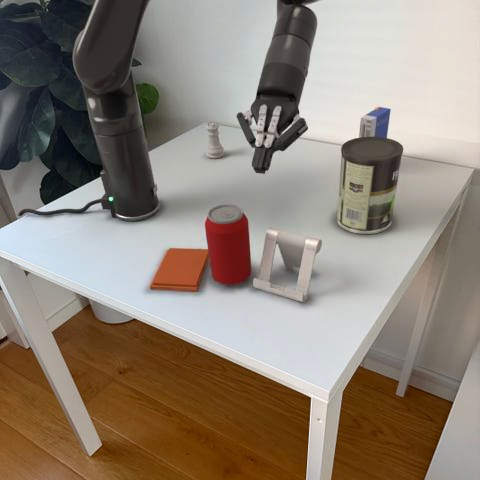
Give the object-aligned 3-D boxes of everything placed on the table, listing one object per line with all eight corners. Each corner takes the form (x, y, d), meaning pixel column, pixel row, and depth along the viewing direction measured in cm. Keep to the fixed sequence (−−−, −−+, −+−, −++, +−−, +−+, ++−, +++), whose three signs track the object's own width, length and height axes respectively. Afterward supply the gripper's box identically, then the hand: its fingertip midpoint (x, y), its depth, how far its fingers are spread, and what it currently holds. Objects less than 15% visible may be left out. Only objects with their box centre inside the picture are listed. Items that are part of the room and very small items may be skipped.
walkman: (373, 158, 111) (379, 104, 103) (383, 161, 110) (391, 107, 102) (354, 171, 107) (359, 116, 99) (365, 174, 106) (371, 118, 98)
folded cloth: (150, 289, 80) (149, 283, 79) (168, 252, 88) (167, 246, 87) (197, 291, 78) (196, 285, 77) (211, 253, 86) (210, 248, 85)
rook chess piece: (228, 153, 119) (225, 120, 114) (218, 160, 117) (214, 127, 111) (213, 150, 121) (209, 118, 116) (203, 157, 119) (199, 124, 113)
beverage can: (234, 260, 84) (228, 197, 76) (260, 276, 80) (256, 211, 72) (203, 276, 81) (194, 213, 73) (229, 294, 77) (221, 229, 69)
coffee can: (391, 207, 94) (402, 135, 85) (392, 236, 86) (405, 160, 77) (337, 206, 96) (342, 135, 87) (334, 233, 89) (339, 159, 79)
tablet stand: (253, 290, 77) (250, 246, 72) (276, 264, 82) (275, 221, 77) (302, 305, 74) (303, 259, 68) (322, 277, 79) (325, 233, 73)
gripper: (241, 58, 80) (215, 158, 80) (317, 61, 76) (290, 168, 76) (255, 83, 87) (231, 175, 87) (325, 87, 83) (301, 184, 83)
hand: (259, 171), depth 81 cm, fingers closed
